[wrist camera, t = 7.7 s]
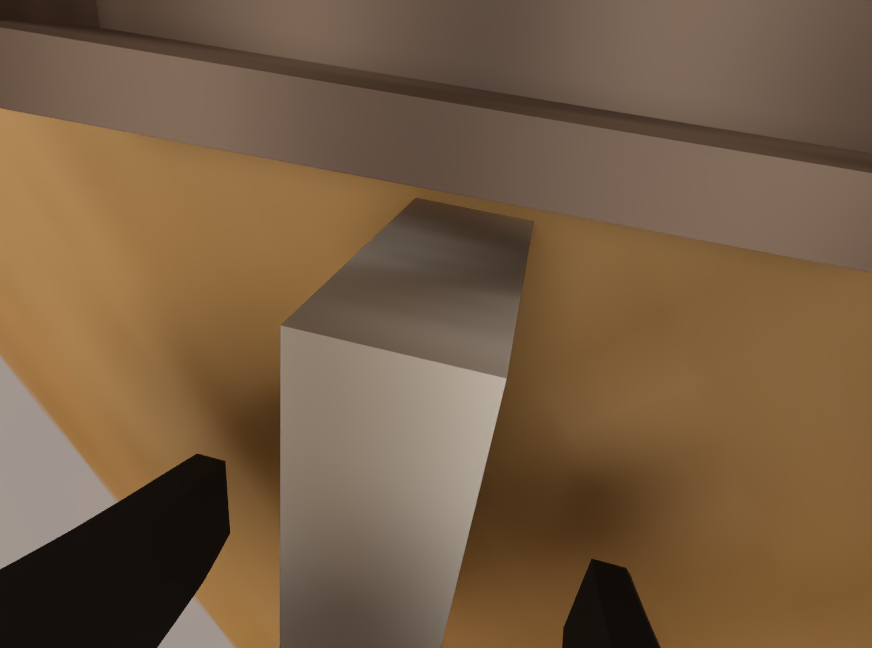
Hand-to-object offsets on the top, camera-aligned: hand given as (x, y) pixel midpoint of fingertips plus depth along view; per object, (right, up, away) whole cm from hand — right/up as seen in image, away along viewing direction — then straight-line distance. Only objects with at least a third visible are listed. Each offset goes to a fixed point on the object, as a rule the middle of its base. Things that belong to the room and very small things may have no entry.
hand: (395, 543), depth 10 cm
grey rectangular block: (+1, +2, +3) cm, 4 cm away
